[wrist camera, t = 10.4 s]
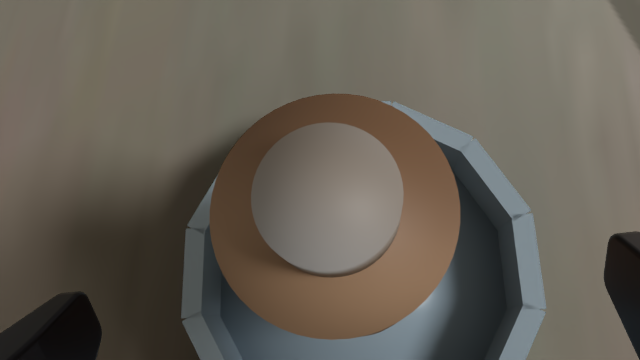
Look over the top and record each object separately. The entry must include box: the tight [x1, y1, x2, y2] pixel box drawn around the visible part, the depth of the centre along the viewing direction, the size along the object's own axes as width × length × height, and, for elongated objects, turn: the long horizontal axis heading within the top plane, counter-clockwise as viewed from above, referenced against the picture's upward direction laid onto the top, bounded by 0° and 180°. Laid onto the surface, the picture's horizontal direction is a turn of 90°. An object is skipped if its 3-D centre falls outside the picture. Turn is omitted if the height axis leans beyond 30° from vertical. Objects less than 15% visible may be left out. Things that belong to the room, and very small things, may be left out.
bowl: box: [181, 101, 546, 360], centre depth 19 cm, size 12×12×3 cm
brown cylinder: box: [210, 94, 460, 340], centre depth 14 cm, size 4×4×12 cm
